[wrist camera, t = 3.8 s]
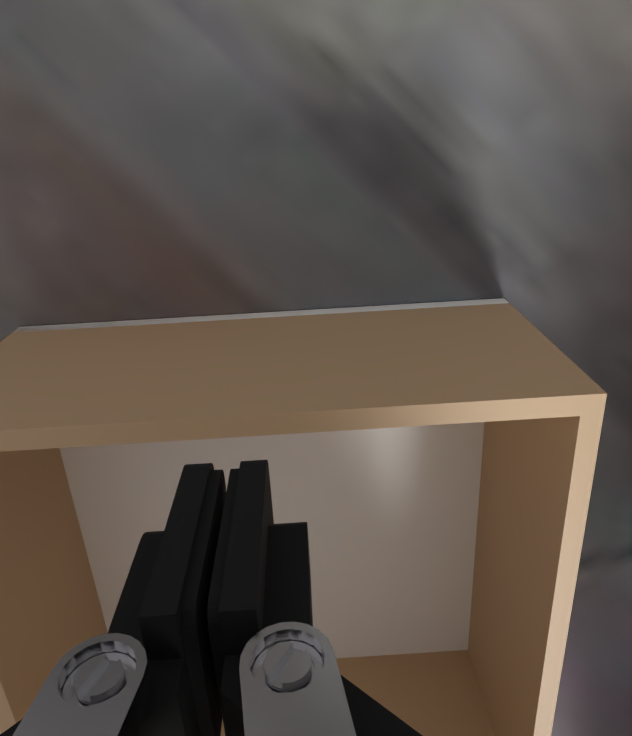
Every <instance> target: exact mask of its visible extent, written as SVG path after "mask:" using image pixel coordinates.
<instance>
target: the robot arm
mask: <svg viewBox="0 0 632 736" xmlns="http://www.w3.org/2000/svg"><path fill="white" fill-rule="evenodd" d="M222 718H223V724H224V730H225V736H423V735H421V734H420V733H419V732H417V731H416V730H414V729H413V728H412V727H410V726H409V725H408V724H406V723H405V722H404V721H402V720H401V719H400V718H398V717H397V716H396V715H394V714H393V713H392V712H390V711H389V710H388V709H386V708H385V707H384V706H382V705H381V704H380V703H378V702H377V701H376V700H374V699H373V698H372V697H370V696H369V695H368V694H366V693H365V692H363V691H362V690H361V689H359V688H358V687H357V686H355V685H354V684H353V683H351V682H350V681H349V680H347V679H346V678H345V677H343V676H342V675H341V674H340V671H339V668H338V664H337V660H336V656H335V652H334V649H333V647H332V645H331V643H330V641H329V639H328V638H327V637H326V636H325V635H324V634H323V633H322V632H321V631H320V630H319V629H317V628H315V627H313V616H312V593H311V573H310V555H309V540H308V526H307V522H296V523H280V524H274V519H273V508H272V497H271V486H270V475H269V465H268V460H252V461H241V462H240V467H239V468H237V469H230V473H229V479H228V485H227V491H226V484H225V477H224V471H223V469H221V470H214V466H213V464H212V463H203V464H186V465H184V467H183V470H182V474H181V477H180V480H179V483H178V487H177V490H176V493H175V497H174V500H173V503H172V506H171V510H170V513H169V516H168V520H167V523H166V526H165V530H164V531H152V532H145V533H144V534H143V535H142V537H141V539H140V542H139V545H138V548H137V551H136V554H135V556H134V559H133V562H132V565H131V568H130V571H129V573H128V576H127V579H126V582H125V585H124V588H123V590H122V593H121V596H120V599H119V602H118V605H117V607H116V610H115V613H114V616H113V619H112V622H111V624H110V627H109V630H108V633H107V634H102V635H99V636H95V637H92V638H89V639H87V640H85V641H83V642H81V643H79V644H78V645H76V646H74V647H73V648H72V649H70V650H69V651H68V652H67V653H66V654H64V655H63V656H62V657H61V658H60V660H59V661H58V662H57V664H56V665H55V666H54V667H53V669H52V670H51V672H50V674H49V675H48V677H47V679H46V680H45V682H44V684H43V685H42V687H41V689H40V690H39V692H38V694H37V695H36V697H35V699H34V700H33V702H32V704H31V705H30V707H29V709H28V711H27V712H26V714H25V716H24V717H23V719H21V720H20V721H19V722H17V723H16V724H14V725H13V726H11V727H10V728H9V729H7V730H6V731H4V732H3V733H2V734H0V736H220V735H221V727H222Z"/></svg>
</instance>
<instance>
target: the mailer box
mask: <svg viewBox="0 0 632 736" xmlns="http://www.w3.org/2000/svg"><path fill="white" fill-rule="evenodd" d="M606 397H607V393H606V392H605V391H604V390H603V389H602V388H601V387H600V386H599V385H598V384H596V383H595V382H594V381H593V380H592V379H591V378H590V377H589V376H588V375H587V374H586V373H585V372H583V371H582V370H581V369H580V368H579V367H578V366H577V365H576V364H575V363H574V362H573V361H572V360H570V359H569V358H568V357H567V356H566V355H565V354H564V353H563V352H562V351H561V350H560V349H559V348H557V347H556V346H555V345H554V344H553V343H552V342H551V341H550V340H549V339H548V338H547V337H546V336H545V335H543V334H542V333H541V332H540V331H539V330H538V329H537V328H536V327H535V326H534V325H533V324H532V323H530V322H529V321H528V320H527V319H526V318H525V317H524V316H523V315H522V314H521V313H520V312H519V311H517V310H516V309H515V308H514V307H513V306H512V305H511V304H510V303H509V302H508V301H507V300H506V299H505V298H499V299H482V300H465V301H448V302H431V303H415V304H398V305H381V306H364V307H347V308H330V309H313V310H296V311H279V312H262V313H246V314H229V315H212V316H195V317H178V318H161V319H144V320H127V321H110V322H93V323H77V324H60V325H43V326H26V327H18V328H17V329H16V330H15V331H13V332H12V333H11V334H10V335H8V336H7V337H6V338H5V339H4V340H2V341H1V342H0V733H1V734H2V733H3V732H4V731H6V730H7V729H9V728H10V727H11V726H13V725H14V724H16V723H17V722H19V721H20V720H21V719H23V717H24V716H25V714H26V712H27V711H28V709H29V707H30V705H31V704H32V702H33V700H34V699H35V697H36V695H37V694H38V692H39V690H40V689H41V687H42V685H43V684H44V682H45V680H46V679H47V677H48V675H49V674H50V672H51V670H52V669H53V667H54V666H55V665H56V664H57V662H58V661H59V660H60V658H61V657H62V656H63V655H64V654H66V653H67V652H68V651H69V650H70V649H72V648H73V647H74V646H76V645H78V644H79V643H81V642H83V641H85V640H87V639H89V638H92V637H95V636H99V635H102V634H107V633H108V630H109V627H110V624H111V622H112V619H113V616H114V613H115V610H116V607H117V605H118V602H119V599H120V596H121V593H122V590H123V588H124V585H125V582H126V579H127V576H128V573H129V571H130V568H131V565H132V562H133V559H134V556H135V554H136V551H137V548H138V545H139V542H140V539H141V537H142V535H143V534H144V533H145V532H152V531H164V530H165V526H166V523H167V520H168V516H169V513H170V510H171V506H172V503H173V500H174V497H175V493H176V490H177V487H178V483H179V480H180V477H181V474H182V470H183V467H184V465H186V464H203V463H212V464H213V466H214V470H221V469H223V471H224V477H225V484H226V491H227V485H228V479H229V473H230V469H237V468H239V467H240V462H241V461H252V460H268V465H269V475H270V486H271V497H272V508H273V519H274V524H280V523H296V522H307V526H308V540H309V555H310V573H311V593H312V616H313V627H315V628H317V629H319V630H320V631H321V632H322V633H323V634H324V635H325V636H326V637H327V638H328V639H329V641H330V643H331V645H332V647H333V649H334V652H335V656H336V660H337V664H338V668H339V671H340V674H341V675H342V676H343V677H345V678H346V679H347V680H349V681H350V682H351V683H353V684H354V685H355V686H357V687H358V688H359V689H361V690H362V691H363V692H365V693H366V694H368V695H369V696H370V697H372V698H373V699H374V700H376V701H377V702H378V703H380V704H381V705H382V706H384V707H385V708H386V709H388V710H389V711H390V712H392V713H393V714H394V715H396V716H397V717H398V718H400V719H401V720H402V721H404V722H405V723H406V724H408V725H409V726H410V727H412V728H413V729H414V730H416V731H417V732H419V733H420V734H421V735H423V736H551V733H552V726H553V720H554V714H555V708H556V702H557V696H558V690H559V684H560V678H561V672H562V666H563V659H564V653H565V647H566V641H567V635H568V629H569V623H570V617H571V611H572V605H573V599H574V592H575V586H576V580H577V574H578V568H579V562H580V556H581V550H582V544H583V538H584V532H585V525H586V519H587V513H588V507H589V501H590V495H591V489H592V483H593V477H594V471H595V465H596V458H597V452H598V446H599V440H600V434H601V428H602V422H603V416H604V410H605V404H606ZM220 736H225V730H224V724H223V718H222V727H221V735H220Z"/></svg>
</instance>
